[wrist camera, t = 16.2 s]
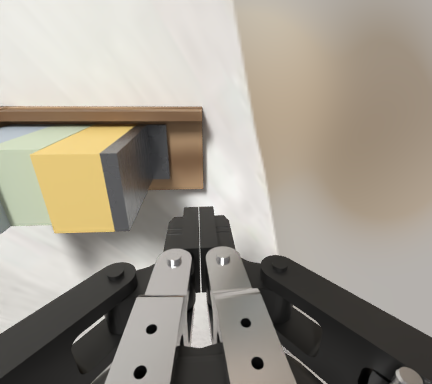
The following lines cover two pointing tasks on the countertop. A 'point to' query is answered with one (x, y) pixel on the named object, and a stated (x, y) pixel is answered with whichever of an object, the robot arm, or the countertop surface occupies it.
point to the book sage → (27, 174)
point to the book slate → (8, 133)
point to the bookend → (134, 170)
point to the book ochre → (77, 179)
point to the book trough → (172, 116)
